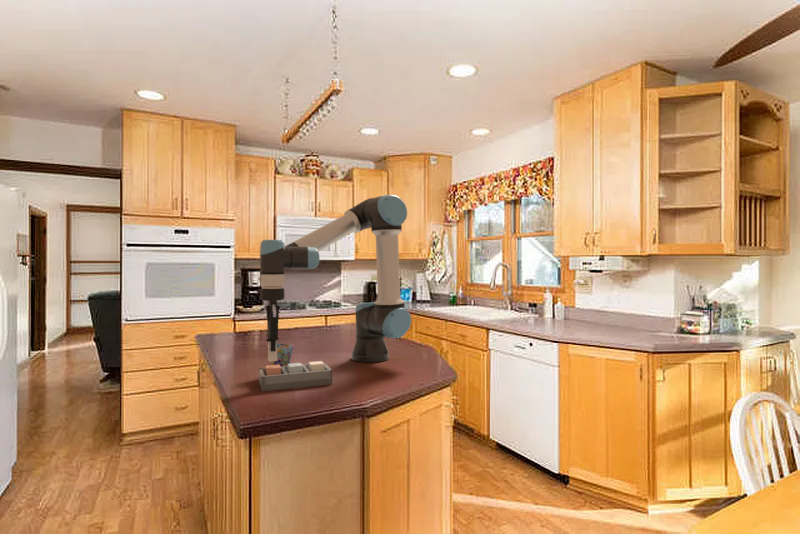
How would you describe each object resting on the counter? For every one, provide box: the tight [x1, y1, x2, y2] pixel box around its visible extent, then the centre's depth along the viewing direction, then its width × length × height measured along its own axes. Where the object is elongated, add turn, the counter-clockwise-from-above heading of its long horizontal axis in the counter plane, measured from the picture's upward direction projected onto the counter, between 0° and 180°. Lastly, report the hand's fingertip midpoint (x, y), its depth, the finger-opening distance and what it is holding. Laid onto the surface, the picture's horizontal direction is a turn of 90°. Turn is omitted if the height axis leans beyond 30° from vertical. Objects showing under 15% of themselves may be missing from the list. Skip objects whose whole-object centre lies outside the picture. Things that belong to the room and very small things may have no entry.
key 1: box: [265, 364, 281, 376], centre depth 148 cm, size 4×4×2 cm
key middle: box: [287, 362, 303, 374], centre depth 150 cm, size 4×4×2 cm
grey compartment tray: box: [258, 362, 333, 392], centre depth 150 cm, size 22×12×4 cm, turn 111°
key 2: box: [308, 360, 325, 371], centre depth 153 cm, size 4×4×2 cm
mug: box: [266, 342, 295, 367], centre depth 161 cm, size 12×9×11 cm
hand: (272, 360), depth 148 cm, fingers closed
